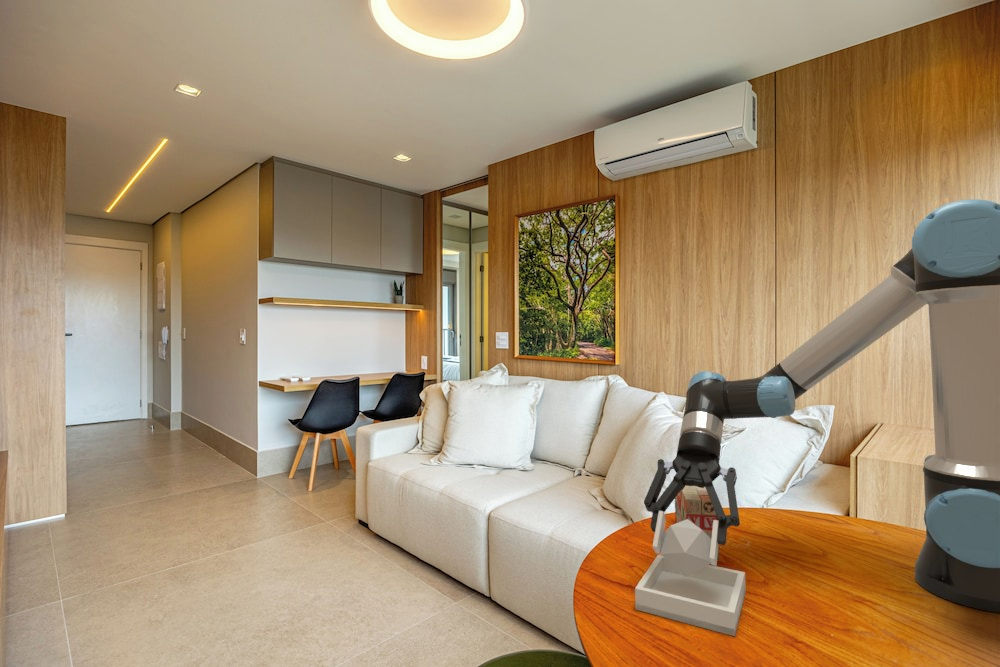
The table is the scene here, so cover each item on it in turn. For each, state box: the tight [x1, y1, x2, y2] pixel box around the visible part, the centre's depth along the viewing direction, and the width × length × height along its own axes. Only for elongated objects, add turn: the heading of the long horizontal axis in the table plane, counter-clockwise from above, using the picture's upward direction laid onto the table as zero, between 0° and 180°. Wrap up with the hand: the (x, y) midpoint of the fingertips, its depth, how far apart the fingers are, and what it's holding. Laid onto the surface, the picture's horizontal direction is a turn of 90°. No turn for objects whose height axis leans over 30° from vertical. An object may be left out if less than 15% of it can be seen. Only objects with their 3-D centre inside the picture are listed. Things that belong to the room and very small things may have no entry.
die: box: [660, 519, 711, 577], centre depth 86 cm, size 8×9×10 cm
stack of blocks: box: [674, 486, 720, 561], centre depth 111 cm, size 21×6×12 cm, turn 167°
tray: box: [634, 553, 746, 637], centre depth 85 cm, size 15×15×4 cm
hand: (683, 555), depth 83 cm, fingers closed on die, 8 cm apart
